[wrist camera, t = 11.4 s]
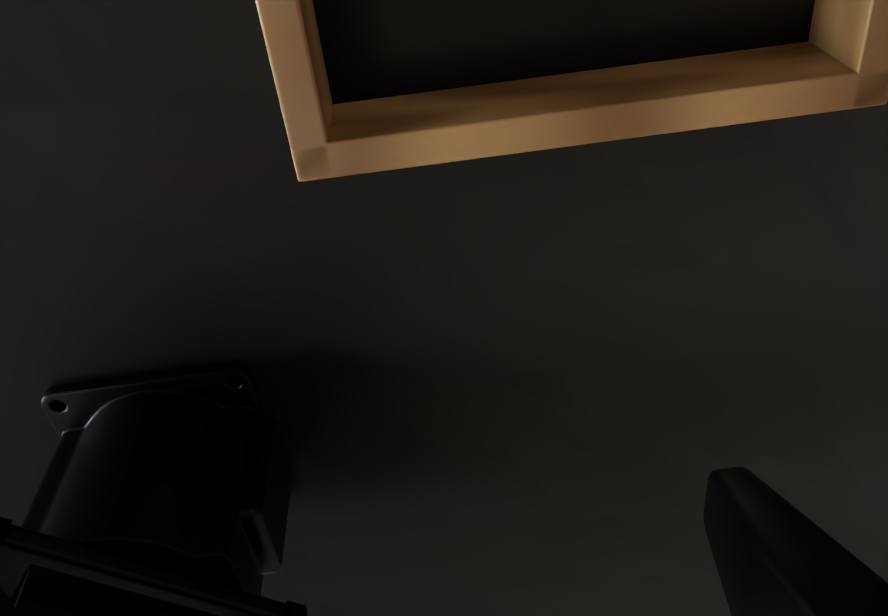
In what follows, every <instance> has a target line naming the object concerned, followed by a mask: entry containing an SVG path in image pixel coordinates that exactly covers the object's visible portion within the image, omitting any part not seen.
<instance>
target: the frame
mask: <svg viewBox="0 0 888 616" xmlns="http://www.w3.org/2000/svg"><path fill="white" fill-rule="evenodd" d="M255 2H256V6H257V11H258V15H259V19H260V23H261V27H262V32H263V36H264V40H265V44H266V48H267V52H268V57H269V61H270V65H271V69H272V73H273V77H274V82H275V86H276V90H277V94H278V98H279V102H280V107H281V111H282V115H283V119H284V123H285V128H286V132H287V136H288V140H289V144H290V148H291V154H292V158H293V162H294V166H295V170H296V174H297V179H298V181H299V182H303V181H311V180H318V179H326V178H333V177H341V176H349V175H356V174H364V173H371V172H379V171H386V170H394V169H401V168H409V167H417V166H424V165H432V164H439V163H447V162H454V161H462V160H469V159H477V158H485V157H492V156H500V155H507V154H515V153H522V152H530V151H538V150H545V149H553V148H560V147H568V146H575V145H583V144H590V143H598V142H606V141H613V140H621V139H628V138H636V137H643V136H651V135H658V134H666V133H674V132H681V131H689V130H696V129H704V128H711V127H719V126H727V125H734V124H742V123H749V122H757V121H764V120H772V119H779V118H787V117H795V116H802V115H810V114H817V113H825V112H832V111H840V110H847V109H855V108H863V107H870V106H878V105H885V104H886V103H887V100H888V0H815V3H814V9H813V15H812V21H811V27H810V34H809V40H808V42H801V43H793V44H786V45H778V46H770V47H763V48H755V49H748V50H740V51H733V52H725V53H718V54H710V55H702V56H695V57H687V58H680V59H672V60H665V61H657V62H650V63H642V64H634V65H627V66H619V67H612V68H604V69H597V70H589V71H581V72H574V73H566V74H559V75H551V76H544V77H536V78H529V79H521V80H513V81H506V82H498V83H491V84H483V85H476V86H468V87H461V88H453V89H445V90H438V91H430V92H423V93H415V94H408V95H400V96H393V97H385V98H377V99H370V100H362V101H355V102H347V103H340V104H333V102H332V97H331V92H330V87H329V82H328V77H327V72H326V67H325V62H324V57H323V52H322V47H321V42H320V37H319V32H318V27H317V22H316V17H315V11H314V6H313V1H312V0H255Z"/></svg>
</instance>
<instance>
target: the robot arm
mask: <svg viewBox="0 0 888 616" xmlns="http://www.w3.org/2000/svg"><path fill="white" fill-rule="evenodd" d="M229 377H237V378H239V379H240V380H238V381H234V380H231V379H230V378H229ZM56 400H60V401H62V402H64V403H65V404H64V403H59V402H57V401H56ZM41 407H42V409H43V411H44V413H45V415H46V416H47V418H48V420H49V422H50V424H51V425H52V427H53V429H54V431H55V433H56V434H57V436H58V438H59V440H60V442H59V444H58V446H57V448H56V450H55V452H54V455H53V457H52V459H51V461H50V463H49V465H48V468H47V470H46V472H45V474H44V476H43V478H42V481H41V483H40V485H39V487H38V489H37V491H36V494H35V496H34V498H33V500H32V502H31V504H30V506H29V509H28V511H27V513H26V515H25V517H24V519H23V522H22V524H21V526H16V525H13V524H11V523H12V520H9V519H6V518H2V517H0V616H307V609H306V606H305V605H302V604H298V603H295V602H291V601H287V602H286V603H283V602H279V601H276V600H272V599H269V598H265V597H262V596H260V595H261V588H262V581H263V575H264V574H272V573H276V571H277V570H278V569H279V568H280V566H281V565H282V558H283V549H284V540H285V531H286V523H287V514H288V505H289V502H290V487H291V479H292V468H291V465H290V462H289V459H288V456H287V453H286V450H285V446H284V443H283V440H282V437H281V434H280V431H279V428H278V425H277V422H276V420H274V419H273V418H272V417H271V416H266V415H265V412H264V409H263V406H262V403H261V400H260V397H259V394H258V391H257V388H256V385H255V382H254V379H253V376H252V373H251V371H250V369H249V368H248V367H247V366H245V365H244V364H241V363H238V362H230V363H222V364H215V365H207V366H200V367H192V368H185V369H177V370H170V371H162V372H154V373H147V374H139V375H132V376H124V377H117V378H109V379H101V380H94V381H86V382H79V383H71V384H64V385H56V386H53V387H50V388H49V389H48V390H46V392H45V394H44V396H43V398H42V401H41ZM704 525H705V530H706V534H707V537H708V540H709V543H710V547H711V550H712V553H713V556H714V560H715V563H716V566H717V569H718V573H719V576H720V579H721V582H722V586H723V589H724V592H725V595H726V599H727V602H728V605H729V608H730V612H731V615H732V616H888V583H887V582H886V581H885V580H884V579H882V578H881V577H880V576H879V575H877V574H876V573H875V572H874V571H872V570H871V569H870V568H869V567H868V566H866V565H865V564H864V563H863V562H861V561H860V560H859V559H858V558H856V557H855V556H854V555H853V554H852V553H850V552H849V551H848V550H847V549H845V548H844V547H843V546H842V545H840V544H839V543H838V542H837V541H836V540H834V539H833V538H832V537H831V536H829V535H828V534H827V533H826V532H824V531H823V530H822V529H821V528H820V527H818V526H817V525H816V524H815V523H813V522H812V521H811V520H810V519H808V518H807V517H806V516H805V515H804V514H802V513H801V512H800V511H799V510H797V509H796V508H795V507H794V506H793V505H791V504H790V503H789V502H788V501H786V500H785V499H784V498H783V497H781V496H780V495H779V494H778V493H777V492H775V491H774V490H773V489H772V488H770V487H769V486H768V485H767V484H765V483H764V482H763V481H762V480H761V479H759V478H758V477H757V476H756V475H754V474H753V473H752V472H751V471H749V470H748V469H746V468H743V467H733V468H725V469H718V470H714V471H712V472H711V473H710V475H709V478H708V484H707V491H706V499H705V506H704Z"/></svg>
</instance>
